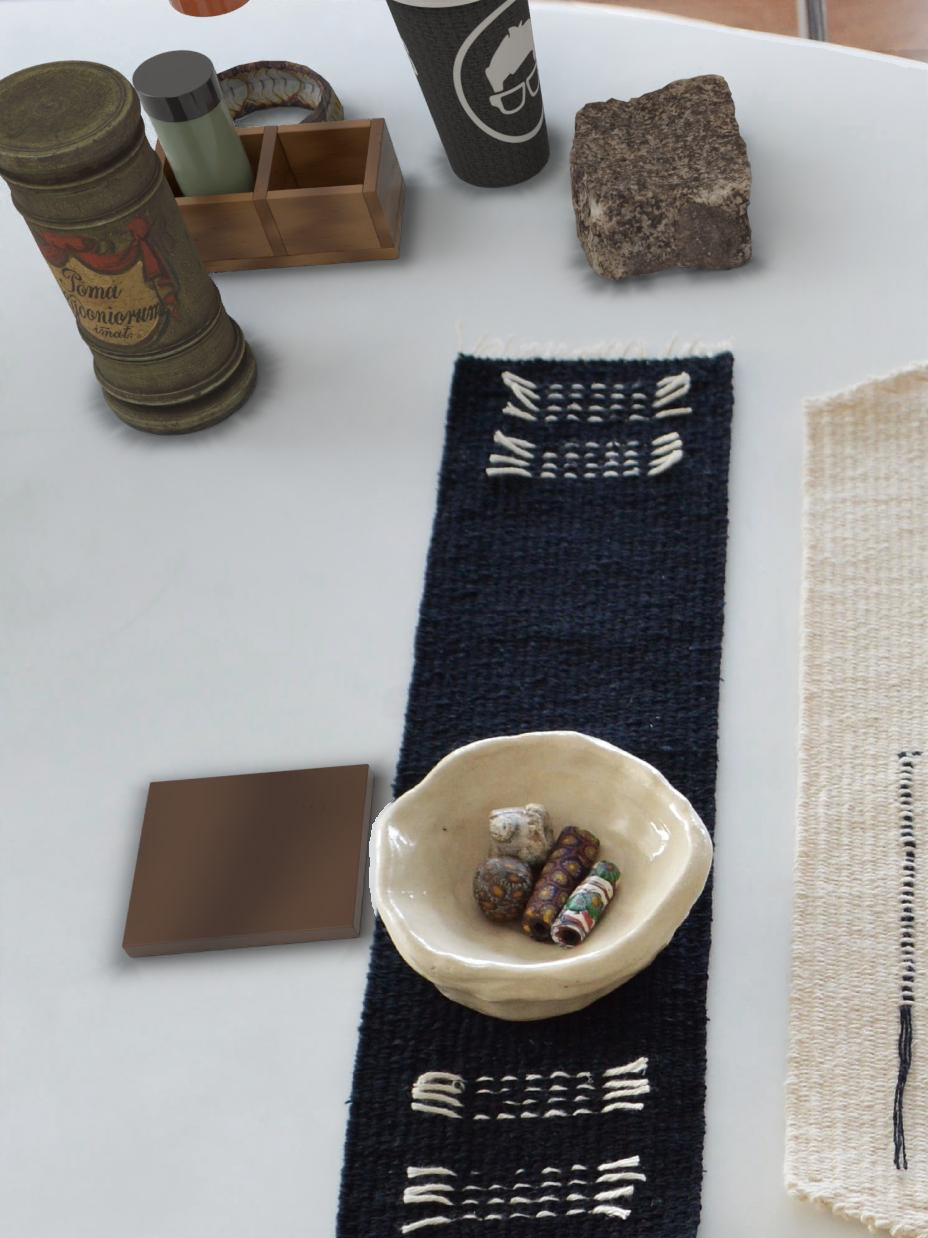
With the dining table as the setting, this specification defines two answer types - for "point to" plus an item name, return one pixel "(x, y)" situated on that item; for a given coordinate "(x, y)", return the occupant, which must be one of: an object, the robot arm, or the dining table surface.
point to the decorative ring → (279, 90)
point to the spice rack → (303, 199)
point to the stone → (662, 181)
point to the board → (250, 860)
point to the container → (120, 248)
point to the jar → (194, 123)
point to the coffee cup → (479, 84)
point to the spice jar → (206, 7)
